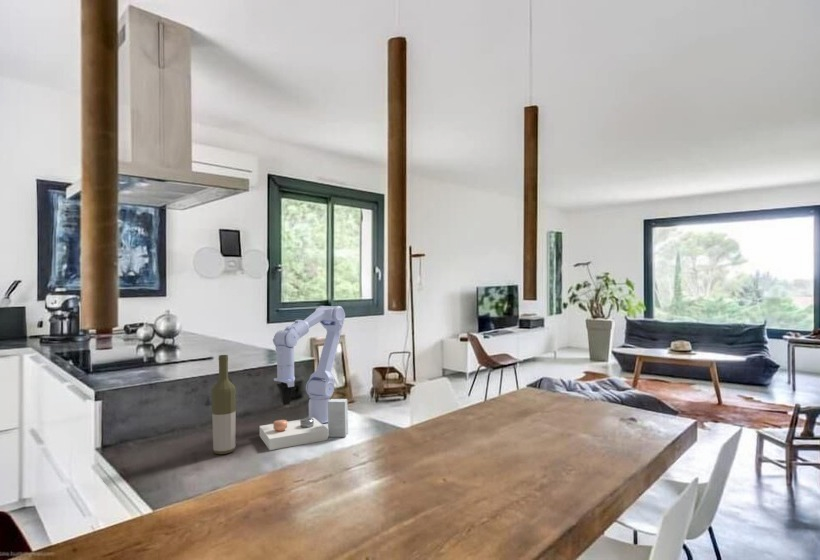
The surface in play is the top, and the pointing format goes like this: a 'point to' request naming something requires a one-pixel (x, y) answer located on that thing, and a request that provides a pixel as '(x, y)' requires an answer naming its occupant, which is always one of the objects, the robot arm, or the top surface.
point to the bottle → (223, 410)
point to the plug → (306, 422)
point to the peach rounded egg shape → (280, 425)
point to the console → (292, 434)
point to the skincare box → (337, 418)
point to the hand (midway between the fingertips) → (286, 404)
